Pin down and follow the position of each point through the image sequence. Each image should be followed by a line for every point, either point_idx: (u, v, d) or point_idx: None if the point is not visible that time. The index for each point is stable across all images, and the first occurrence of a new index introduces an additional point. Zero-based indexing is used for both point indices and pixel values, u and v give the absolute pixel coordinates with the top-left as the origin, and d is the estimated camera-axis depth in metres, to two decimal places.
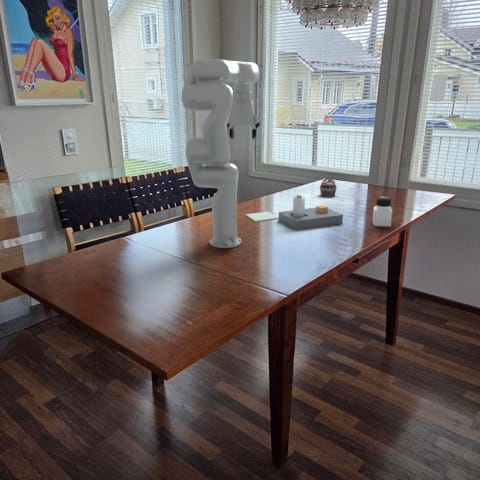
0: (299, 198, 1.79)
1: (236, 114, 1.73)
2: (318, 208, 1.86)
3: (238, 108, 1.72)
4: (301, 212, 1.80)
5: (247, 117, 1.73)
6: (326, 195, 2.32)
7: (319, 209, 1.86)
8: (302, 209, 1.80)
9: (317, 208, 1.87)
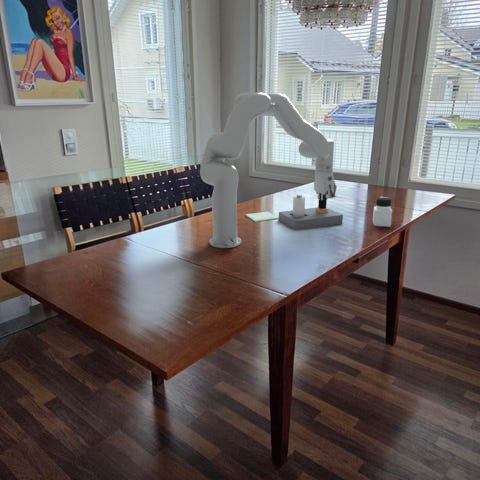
0: (299, 198, 1.79)
1: None
2: (318, 210, 1.86)
3: None
4: (301, 212, 1.80)
5: None
6: None
7: (318, 211, 1.86)
8: (302, 209, 1.80)
9: (317, 210, 1.87)
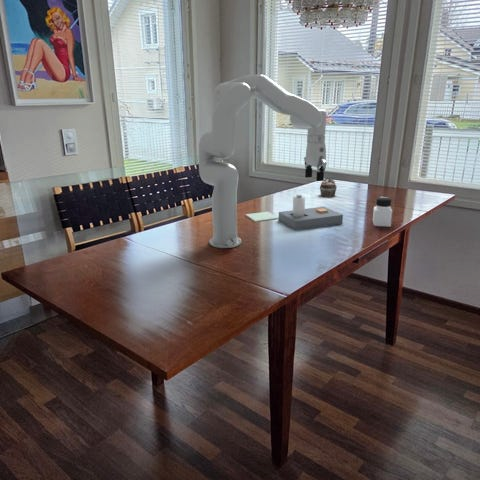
0: (299, 198, 1.79)
1: None
2: (318, 211, 1.86)
3: None
4: (301, 212, 1.80)
5: None
6: (326, 195, 2.32)
7: (318, 212, 1.86)
8: (302, 209, 1.80)
9: (317, 211, 1.87)
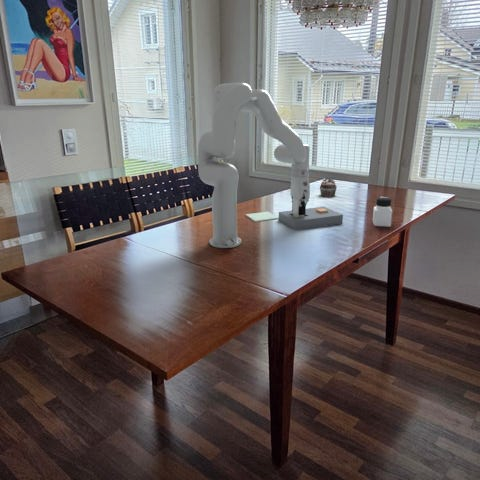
0: None
1: None
2: (318, 211, 1.86)
3: None
4: None
5: None
6: (326, 195, 2.32)
7: (318, 212, 1.86)
8: None
9: (317, 211, 1.87)
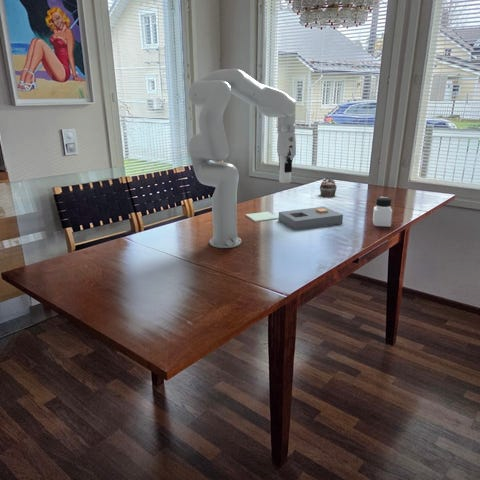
0: None
1: None
2: (318, 211, 1.86)
3: None
4: None
5: None
6: (326, 195, 2.32)
7: (318, 212, 1.86)
8: None
9: (317, 211, 1.87)
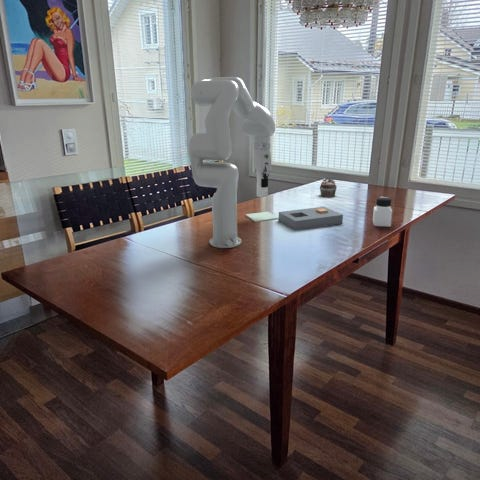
0: None
1: None
2: (318, 211, 1.86)
3: None
4: None
5: None
6: (326, 195, 2.32)
7: (318, 212, 1.86)
8: None
9: (317, 211, 1.87)
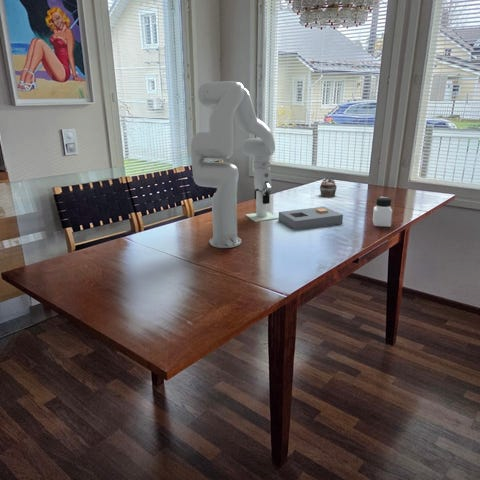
0: (261, 192, 1.89)
1: None
2: (318, 211, 1.86)
3: None
4: (263, 205, 1.91)
5: None
6: (326, 195, 2.32)
7: (318, 212, 1.86)
8: None
9: (317, 211, 1.87)
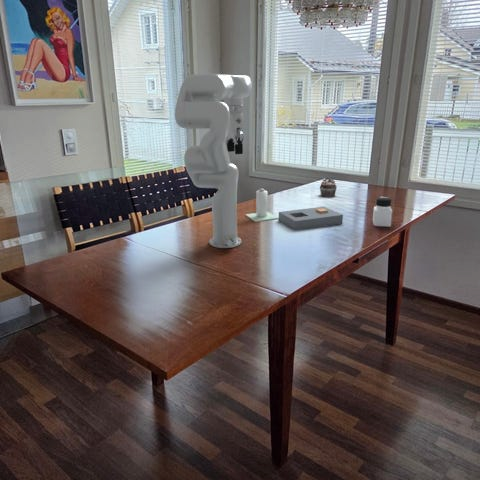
0: (261, 192, 1.89)
1: None
2: (318, 211, 1.86)
3: None
4: (264, 205, 1.91)
5: None
6: (326, 195, 2.32)
7: (318, 212, 1.86)
8: (264, 202, 1.91)
9: (317, 211, 1.87)
